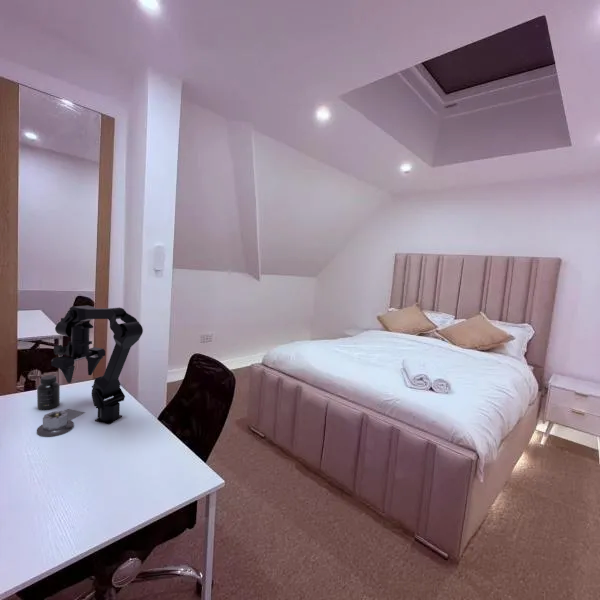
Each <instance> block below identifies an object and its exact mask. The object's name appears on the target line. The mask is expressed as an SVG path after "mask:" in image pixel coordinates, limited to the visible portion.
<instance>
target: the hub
mask: <svg viewBox="0 0 600 600" xmlns="http://www.w3.org/2000/svg"><path fill="white" fill-rule="evenodd" d="M54 418H55V417H54ZM74 426H75V423H74V421H72V420H68V424H67V427H65V428H63V429H61V430H59V431H51V432H48V431H44V430H43V424H41V425H39V426H38V427H37V428H36V435H37V436H39V437H40V438H41V437H42V438H52V437H58V436H62V435H64V434H68V432H71V431H72V430H73V429H74Z"/></svg>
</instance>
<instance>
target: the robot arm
mask: <svg viewBox="0 0 600 600" xmlns="http://www.w3.org/2000/svg"><path fill="white" fill-rule="evenodd" d="M93 320H108V321H109V329H110V330H111V332H112V334H113V336H112V337H113V339H114V343H115V345H114V347H113V349H112V353H111V355H110V358H109V360H108V363H107V366H106V368H105V371H104V373H103V375H102V376H99V377H96V378H94V381H93V384H92V386H91V388H92V389H91V398H92V401H93V406H94V407H95V409H97V418H96V419H94V422H97V423H100V424H106V425H111V424H113V423H114V422H117V421H118V420H120V419H122V418H123V415H122V414H120V408H121V406H120V402H124V401H125V398H126V396H125V393H124V392H123V391H122V388H121V382H120V379H119V378H120V375H121V373H122V370H123V368H124V365H125V363H126V360H127V358H128V356H129V353H130V350H131V348H132V347H133V346H134V345H135V344H136V343H137V342H138V341H140V338H141V336H142V335H143V332H144V328H143V325H141V323H140V322H139V321H138V319H137V318H136V317H134V316H133V315H131V314H130V313H128V312H127V311H126V310H125V308H122V307H113V308H112V307H111V308H110V307H109V308H108V307H107V308H105V307H104V308H96V307H94V306H91V305H78V306H70V307H69V310H68V311H67V313H66V314H65V316H64V317H61V318H60V321H59V322H58V323H56V325H55V328H54V329H55V332H56V334H57V335H59V336H65V337H69V338H70V341H68V342H67V345H65V346H63V345H62V344H59V345H55V346H53V347H54V348H53V354H54V355H58V357H53V358H52V359H51V360H50V361H51V363H50V364H51V365H50V366H51V367H54V368H56V369H59V370H60V371H61V372H62V374H63V376H64V378H65V380H66V382H67V383H68V384H71V383H72V380H73V376H74V372H75V371H74V370H75V366H76V365H75V362H76V361H80V360H83V359H86V361H87V375H88V376H92V374H93V373H94V372H95V369H96V368H97V366H98V365H99V363H100V362H101V360H103V358H104V356H106V350H105V349H104V348H102V347H101V348H100V347H94V346H93V347H90V345H92V344H93V340H90V330H91V329H93V328H94V325H92V324H91V322H90V321H93ZM117 320H120V321H122V323H118V321H117ZM65 355H66V356H65Z"/></svg>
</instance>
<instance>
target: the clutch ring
mask: <svg viewBox="0 0 600 600" xmlns="http://www.w3.org/2000/svg"><path fill="white" fill-rule="evenodd" d="M54 417H55V418H54ZM67 424H68V412H65V410H57V411H51V412H48V413H46V414H44V415H43V418H42V425H43V430H44V431H48V432H51V431H59V430H61V429H63V428H65V427H67Z"/></svg>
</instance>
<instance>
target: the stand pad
mask: <svg viewBox="0 0 600 600" xmlns="http://www.w3.org/2000/svg"><path fill="white" fill-rule="evenodd" d="M64 411H65V412H68V420H71V421H72V420H73V419H76V418H78V417H80V416H82V415H84V414H86V413H87V412H85V411H80V410H76V409H70V408H66V409H64Z"/></svg>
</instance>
